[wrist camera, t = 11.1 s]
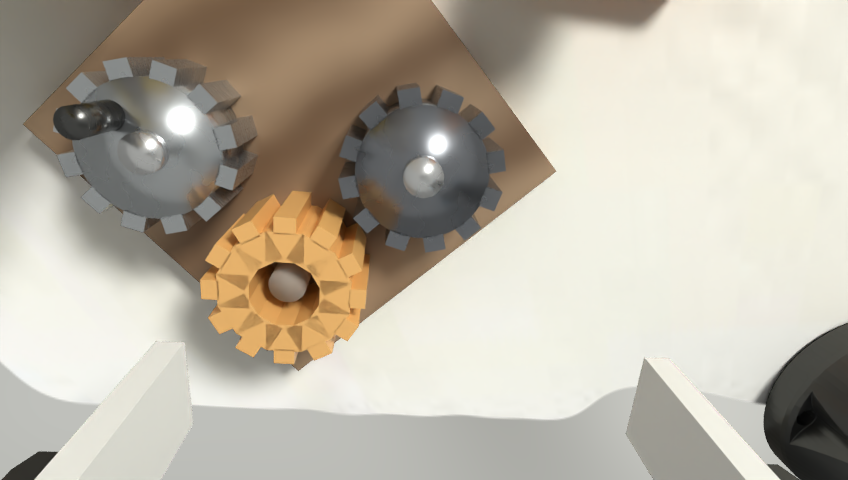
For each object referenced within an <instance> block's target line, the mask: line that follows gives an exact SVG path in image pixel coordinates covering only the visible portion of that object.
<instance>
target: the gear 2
mask: <svg viewBox="0 0 848 480" xmlns="http://www.w3.org/2000/svg"><path fill="white" fill-rule="evenodd" d="M396 87H397V94H398V99H399V102H397V103H395V104H393V105H391V106H389V107H388V106H387V105H386V104H385V102H384V101H383V100H382V99H381V98H380V96H379V95H377V96H376V97H375V98H374V99H373V100H372V101H370V102H369V103H368V104H367V105H366V106H365V107H363V109H362V111H361V113H360V114H359V117H360V118H361V120H362V121H363V122H364V123H365V124H366V125H367V127H368V128H367V130H366V129H363V128H360V127H358V126H355V125H352V126H351V127H350V129H349V131H348V133H347V134H346V137H345V140H344V143H343V146H342V149H341V152H340V155H339V157H342V158H345V159H348V160H351V161H350V162H345V164H344V166H343V169H342V171H341V173H340V175H339V178H338V180H339V184H340V189H341V193H342V197H343V199H348V198H354V197H358V200H357V204H356V208H355V212H354V216H353V219H354V220H355V221H356V222H357V223H358V224H359V225H360V226H361V227H362V228H363V230H364V231H365V232H366V233H369V232H370V231H371V230H372V229H373V228H375V227H376V226H377V225H378V224H381V225H382V226H384V227H385V228H386V230H385V245H387V246H390V247H393V248H396V249H399V250H402V251H405V249H406V246H407V244H408V241H409V239H410V237H413V238H423V242H424V248H425V253H427V252H433V251H438V250H444V249H446V248H445V242H444V236H443V234H446V233H449V232H451V231H453V230H456V231H457V232H458V233H459V235H460V236H461V237H462V238H463V239H464V240H466V239H468V238H469V237H470V236H472V235H473V234H474V233H476V232H477V231H478V230H479V229H481V227H480V225H479V223H478V221H477V219H476V217H475V215H474V213H475V212H476V210H477V209H478V207H479V206H480V207H483V208H486V209H489V210H491V211H495V209H496V206H497V204H498V202H499V200H500V197H501V195H502V193H503V192H502V191H501V189H500V188H499V187H498V186H497V184H496V183H495V182H494V181H493V179H492V178H491V177H490V176H489V174H492V173H498V172H503V171H506V166H505V156H504V149H502V148H501V147H500V146H499V145H498V144H497V143H495V142H494V141H493V140H492V139H491V138H490V137H488V138H485V137H487V136H488V135H489V134H490V133H492V132H493V131H494V130H495V128H494V126H493V125H492V124H491V122H490V121H489V120H488V118H487V117H486V116H485V114H484V113H483V112H482V111H481V110H479V109H478V108H476V107H475V106H473V105H471V104H470V105H468V106H467V107H466V108H465V109H464V110H462V111H461V112H460V113H459V110H460V108H461V105H462V102H463V100H464V97H462V96H461V95H459V94H457V93H456V92H454V91H451V90H449V89H446V88H443V87H441V86H438V85H436V86H435V89H434V92H433V95H432V97H431V100H430V99H422V97H421V91H420V87H419V85H418V84H417V83H411V84H405V85H399V86H396ZM458 113H459V114H458Z"/></svg>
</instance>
